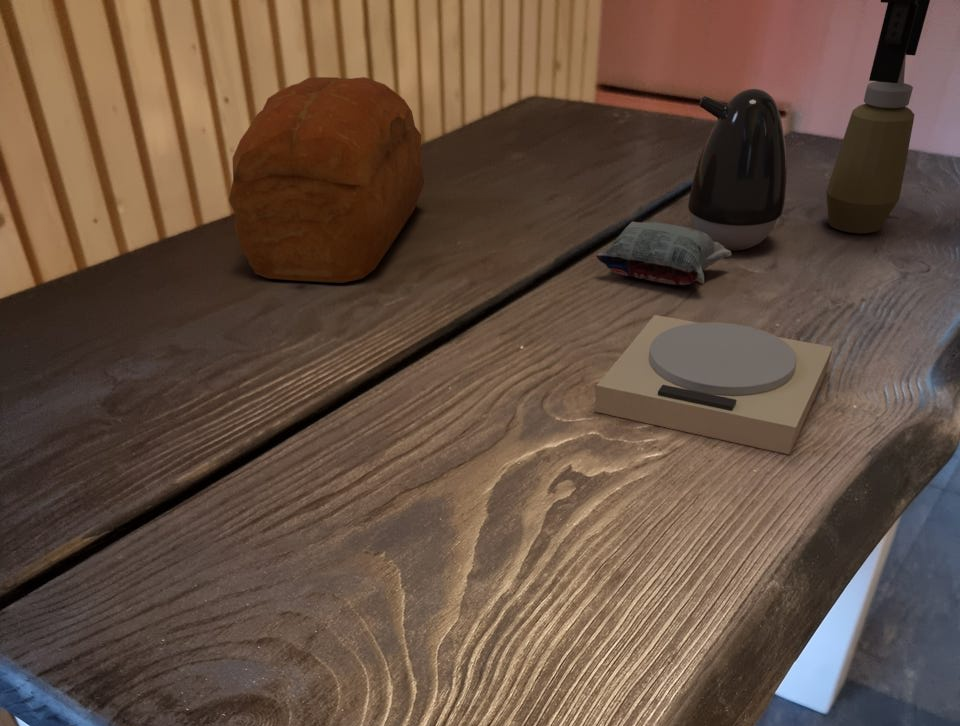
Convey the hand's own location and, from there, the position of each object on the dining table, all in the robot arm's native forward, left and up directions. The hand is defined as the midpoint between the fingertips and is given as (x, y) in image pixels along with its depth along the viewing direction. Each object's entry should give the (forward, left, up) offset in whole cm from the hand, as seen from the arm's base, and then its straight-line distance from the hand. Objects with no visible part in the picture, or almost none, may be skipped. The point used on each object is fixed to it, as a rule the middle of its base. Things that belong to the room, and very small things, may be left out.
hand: (893, 67), depth 97 cm
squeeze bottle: (0, 0, -16) cm, 16 cm away
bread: (+53, +28, -16) cm, 62 cm away
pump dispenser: (+12, +11, -16) cm, 23 cm away
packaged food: (+16, +23, -16) cm, 32 cm away
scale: (+4, +46, -16) cm, 49 cm away
